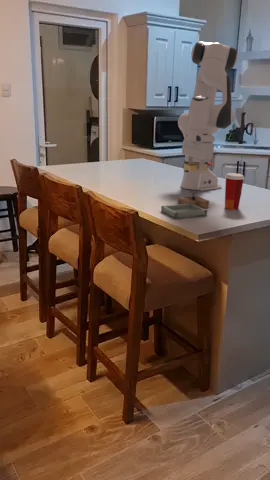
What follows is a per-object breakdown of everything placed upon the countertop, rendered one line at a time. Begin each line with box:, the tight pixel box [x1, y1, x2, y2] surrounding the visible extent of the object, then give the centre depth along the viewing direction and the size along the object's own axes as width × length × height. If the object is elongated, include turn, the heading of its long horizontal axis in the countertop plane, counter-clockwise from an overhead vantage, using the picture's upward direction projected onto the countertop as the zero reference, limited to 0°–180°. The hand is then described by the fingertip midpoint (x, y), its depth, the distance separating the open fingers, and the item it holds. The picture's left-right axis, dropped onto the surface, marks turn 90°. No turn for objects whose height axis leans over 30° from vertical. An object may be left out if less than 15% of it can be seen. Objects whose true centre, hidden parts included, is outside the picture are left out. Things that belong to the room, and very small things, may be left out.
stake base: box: [177, 195, 210, 209], centre depth 195 cm, size 10×10×3 cm
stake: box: [187, 190, 199, 200], centre depth 194 cm, size 5×1×4 cm, turn 114°
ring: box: [182, 163, 209, 171], centre depth 190 cm, size 10×6×2 cm, turn 113°
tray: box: [160, 204, 208, 220], centre depth 181 cm, size 15×12×2 cm
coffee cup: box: [224, 172, 245, 211], centre depth 191 cm, size 8×8×15 cm
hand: (195, 168), depth 190 cm, fingers closed on ring, 6 cm apart
